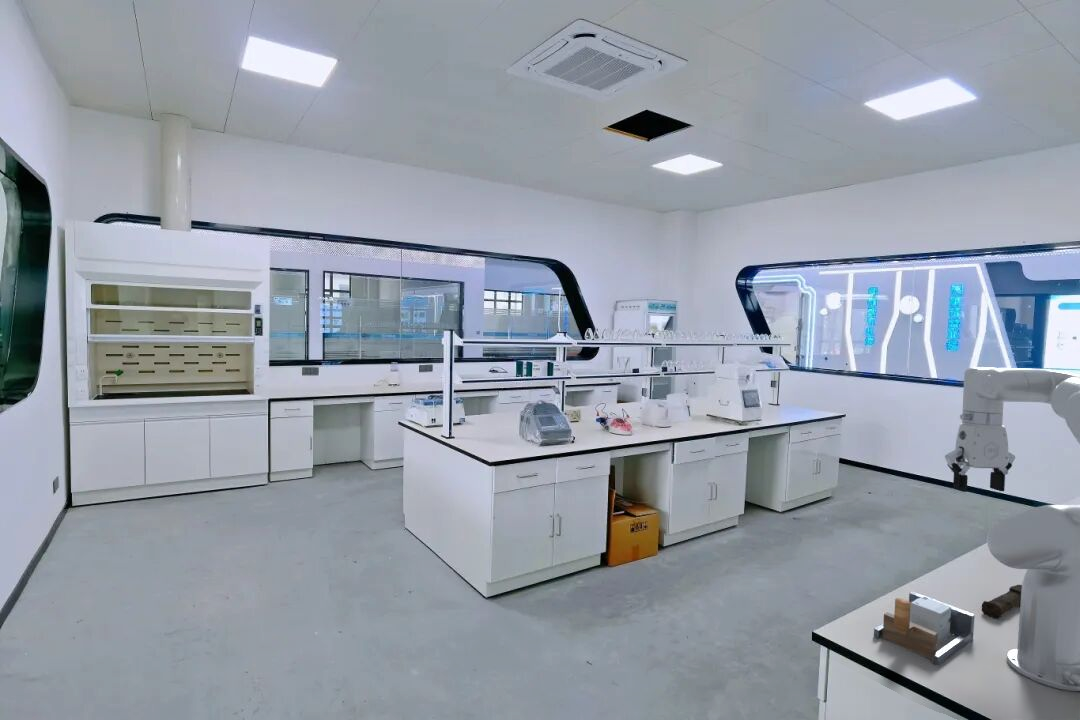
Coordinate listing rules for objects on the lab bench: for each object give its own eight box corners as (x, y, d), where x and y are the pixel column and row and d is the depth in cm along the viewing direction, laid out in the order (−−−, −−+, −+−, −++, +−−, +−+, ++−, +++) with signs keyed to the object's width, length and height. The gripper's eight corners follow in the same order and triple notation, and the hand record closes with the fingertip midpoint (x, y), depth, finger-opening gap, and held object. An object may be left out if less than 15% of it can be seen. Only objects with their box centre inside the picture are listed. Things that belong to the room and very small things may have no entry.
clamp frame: (937, 666, 115) (939, 638, 114) (873, 636, 125) (875, 611, 125) (972, 640, 125) (974, 614, 124) (910, 615, 135) (912, 591, 135)
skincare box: (938, 645, 122) (940, 613, 122) (908, 632, 127) (910, 602, 127) (950, 637, 126) (952, 606, 125) (920, 625, 131) (921, 595, 130)
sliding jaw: (923, 667, 114) (926, 613, 113) (872, 643, 122) (875, 593, 122) (936, 657, 117) (939, 605, 117) (885, 635, 126) (888, 586, 125)
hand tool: (999, 622, 133) (1001, 603, 133) (980, 614, 137) (981, 596, 136) (1037, 605, 142) (1038, 588, 141) (1018, 598, 145) (1019, 581, 145)
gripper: (962, 421, 126) (958, 495, 127) (1030, 421, 128) (1026, 494, 129) (935, 416, 134) (932, 486, 134) (1000, 416, 135) (996, 485, 136)
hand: (978, 490), depth 131 cm, fingers open, 9 cm apart
